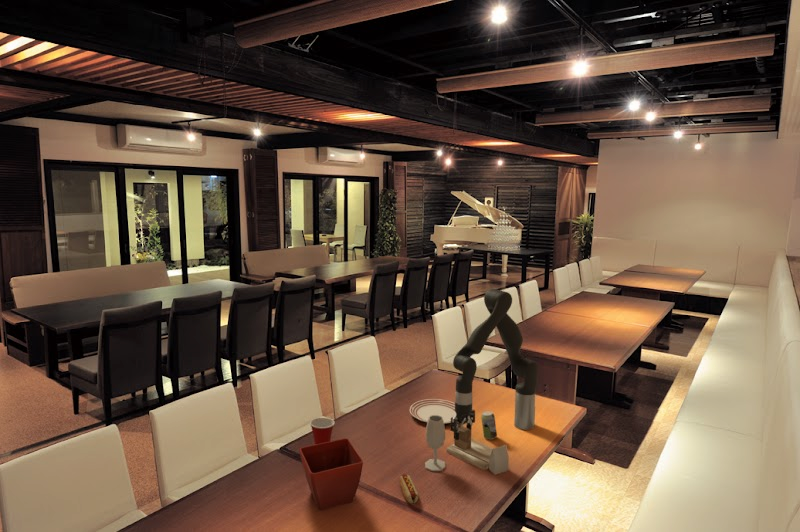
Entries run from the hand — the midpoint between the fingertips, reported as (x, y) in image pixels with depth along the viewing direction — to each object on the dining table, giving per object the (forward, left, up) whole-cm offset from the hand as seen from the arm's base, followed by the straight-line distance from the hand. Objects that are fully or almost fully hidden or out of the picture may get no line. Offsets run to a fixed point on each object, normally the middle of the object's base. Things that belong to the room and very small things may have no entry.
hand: (462, 436), depth 213 cm
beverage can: (-18, +1, -7) cm, 20 cm away
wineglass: (+18, 0, -7) cm, 19 cm away
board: (-1, +6, -7) cm, 9 cm away
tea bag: (+1, +20, -7) cm, 21 cm away
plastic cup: (+42, -45, -7) cm, 62 cm away
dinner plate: (-18, -31, -7) cm, 37 cm away
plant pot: (+61, -13, -7) cm, 62 cm away
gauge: (0, 0, -5) cm, 5 cm away
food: (+39, +6, -7) cm, 40 cm away
